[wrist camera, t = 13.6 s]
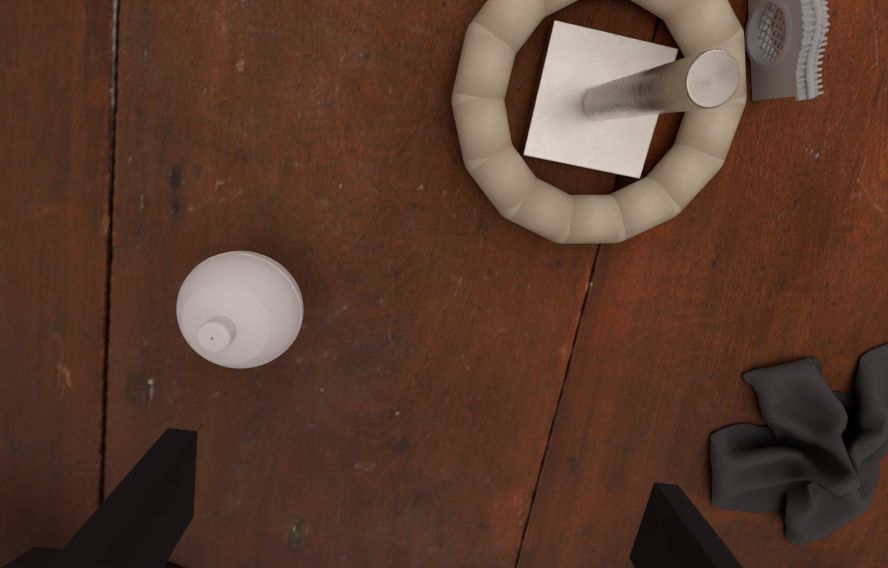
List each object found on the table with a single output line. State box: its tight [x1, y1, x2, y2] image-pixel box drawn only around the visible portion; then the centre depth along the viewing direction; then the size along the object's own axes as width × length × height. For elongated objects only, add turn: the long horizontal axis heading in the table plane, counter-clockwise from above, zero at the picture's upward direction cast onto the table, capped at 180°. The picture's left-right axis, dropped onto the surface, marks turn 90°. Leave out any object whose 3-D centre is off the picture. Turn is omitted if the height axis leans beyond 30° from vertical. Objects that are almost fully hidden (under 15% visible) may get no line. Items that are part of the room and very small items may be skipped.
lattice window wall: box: [745, 0, 830, 101], centre depth 32 cm, size 12×2×6 cm, turn 13°
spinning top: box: [176, 251, 303, 368], centre depth 33 cm, size 8×8×12 cm
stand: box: [519, 20, 740, 179], centre depth 28 cm, size 9×9×16 cm
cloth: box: [710, 343, 888, 544], centre depth 42 cm, size 22×19×6 cm
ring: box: [451, 0, 747, 244], centre depth 34 cm, size 20×21×4 cm
